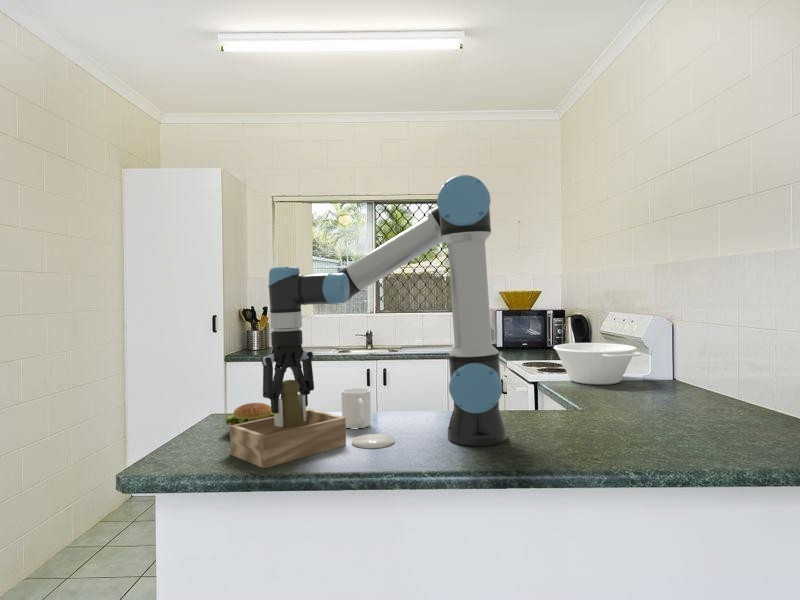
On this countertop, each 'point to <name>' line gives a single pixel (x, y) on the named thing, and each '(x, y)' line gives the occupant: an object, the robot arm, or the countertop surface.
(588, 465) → the countertop surface
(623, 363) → the pot
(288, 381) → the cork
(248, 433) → the access box
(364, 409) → the mug
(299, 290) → the robot arm
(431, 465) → the countertop surface
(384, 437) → the coaster
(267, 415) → the food
